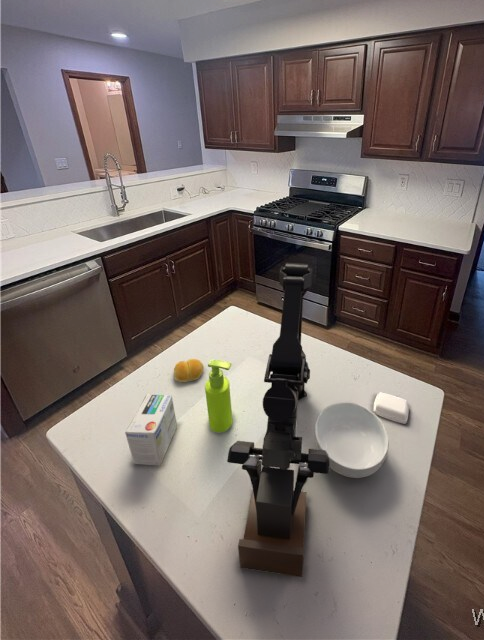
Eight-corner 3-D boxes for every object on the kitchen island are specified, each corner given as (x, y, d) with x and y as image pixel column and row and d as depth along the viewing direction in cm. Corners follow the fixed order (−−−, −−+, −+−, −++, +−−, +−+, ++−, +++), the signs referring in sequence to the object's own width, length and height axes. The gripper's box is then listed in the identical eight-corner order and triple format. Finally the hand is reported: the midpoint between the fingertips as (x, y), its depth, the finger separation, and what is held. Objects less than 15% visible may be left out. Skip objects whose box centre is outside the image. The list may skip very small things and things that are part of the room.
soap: (372, 413, 85) (373, 405, 84) (376, 395, 90) (377, 387, 89) (407, 425, 81) (408, 417, 80) (408, 405, 87) (410, 398, 86)
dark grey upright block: (263, 498, 62) (262, 466, 58) (293, 502, 62) (294, 469, 58) (257, 535, 57) (255, 501, 53) (290, 539, 56) (291, 506, 52)
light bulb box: (152, 424, 81) (146, 393, 77) (178, 425, 81) (172, 394, 77) (132, 465, 71) (123, 432, 67) (161, 466, 71) (154, 433, 67)
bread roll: (205, 378, 95) (204, 368, 94) (174, 386, 93) (173, 376, 91) (202, 361, 103) (200, 351, 101) (173, 367, 100) (172, 358, 98)
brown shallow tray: (254, 494, 66) (253, 472, 63) (306, 500, 65) (307, 479, 62) (240, 568, 55) (238, 545, 52) (302, 577, 54) (303, 555, 51)
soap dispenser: (231, 435, 78) (225, 373, 71) (205, 430, 80) (197, 369, 72) (239, 415, 84) (235, 356, 76) (215, 411, 85) (208, 352, 77)
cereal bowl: (302, 433, 79) (303, 413, 76) (358, 413, 85) (360, 393, 82) (336, 503, 65) (338, 481, 62) (400, 472, 70) (405, 451, 68)
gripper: (226, 414, 55) (211, 524, 50) (332, 425, 53) (329, 540, 48) (239, 409, 66) (228, 499, 60) (329, 418, 64) (326, 512, 58)
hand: (274, 512), depth 56 cm, fingers closed on dark grey upright block, 6 cm apart
